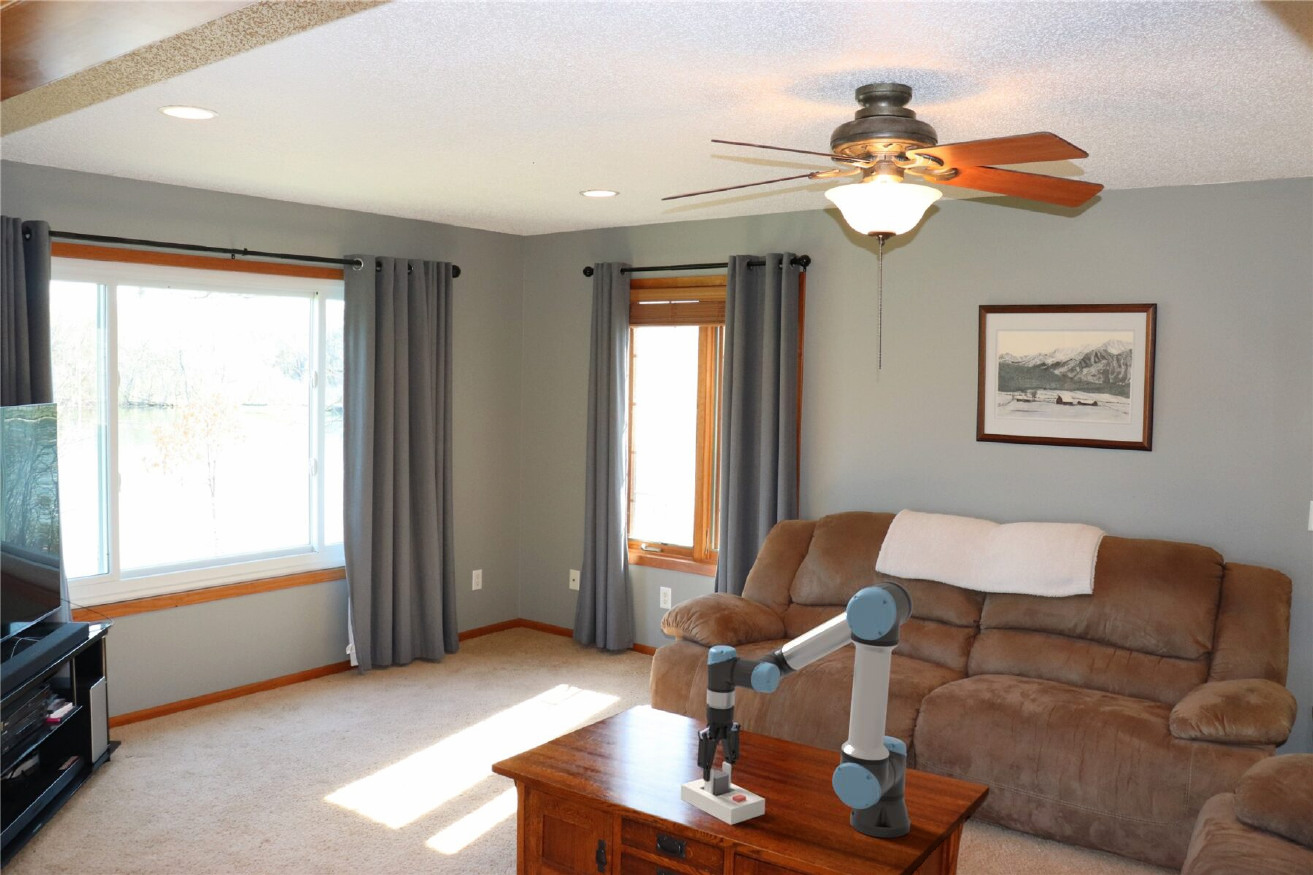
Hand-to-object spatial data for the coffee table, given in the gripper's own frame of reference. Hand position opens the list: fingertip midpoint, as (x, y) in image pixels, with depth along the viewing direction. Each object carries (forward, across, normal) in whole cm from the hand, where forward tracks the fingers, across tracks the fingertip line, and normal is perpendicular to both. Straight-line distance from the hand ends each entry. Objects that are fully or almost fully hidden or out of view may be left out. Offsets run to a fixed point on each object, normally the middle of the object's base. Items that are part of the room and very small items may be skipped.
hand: (717, 789), depth 280 cm
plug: (+4, 0, 0) cm, 4 cm away
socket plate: (+4, 0, +2) cm, 4 cm away
